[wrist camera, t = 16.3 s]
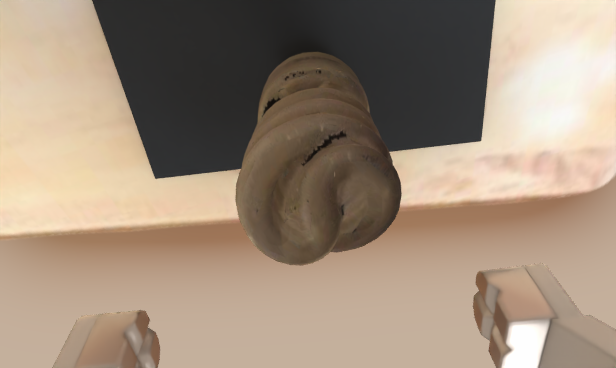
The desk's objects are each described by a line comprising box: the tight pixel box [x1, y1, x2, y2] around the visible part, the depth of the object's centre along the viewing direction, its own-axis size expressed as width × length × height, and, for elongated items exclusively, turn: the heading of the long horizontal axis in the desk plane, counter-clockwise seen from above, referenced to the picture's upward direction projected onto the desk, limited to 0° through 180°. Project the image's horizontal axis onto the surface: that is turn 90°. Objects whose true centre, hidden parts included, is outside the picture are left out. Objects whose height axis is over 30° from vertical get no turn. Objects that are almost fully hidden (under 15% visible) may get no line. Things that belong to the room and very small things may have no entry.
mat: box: [92, 0, 495, 179], centre depth 27 cm, size 22×12×1 cm, turn 97°
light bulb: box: [236, 52, 401, 265], centre depth 20 cm, size 6×6×15 cm
